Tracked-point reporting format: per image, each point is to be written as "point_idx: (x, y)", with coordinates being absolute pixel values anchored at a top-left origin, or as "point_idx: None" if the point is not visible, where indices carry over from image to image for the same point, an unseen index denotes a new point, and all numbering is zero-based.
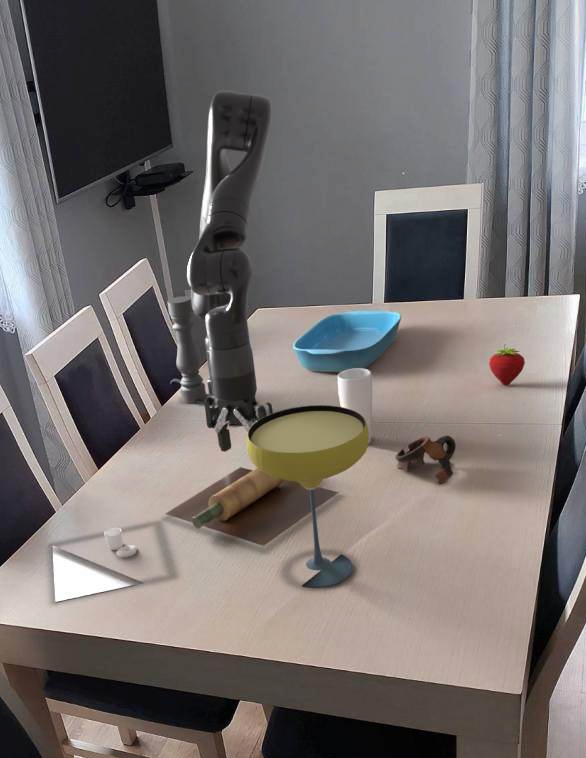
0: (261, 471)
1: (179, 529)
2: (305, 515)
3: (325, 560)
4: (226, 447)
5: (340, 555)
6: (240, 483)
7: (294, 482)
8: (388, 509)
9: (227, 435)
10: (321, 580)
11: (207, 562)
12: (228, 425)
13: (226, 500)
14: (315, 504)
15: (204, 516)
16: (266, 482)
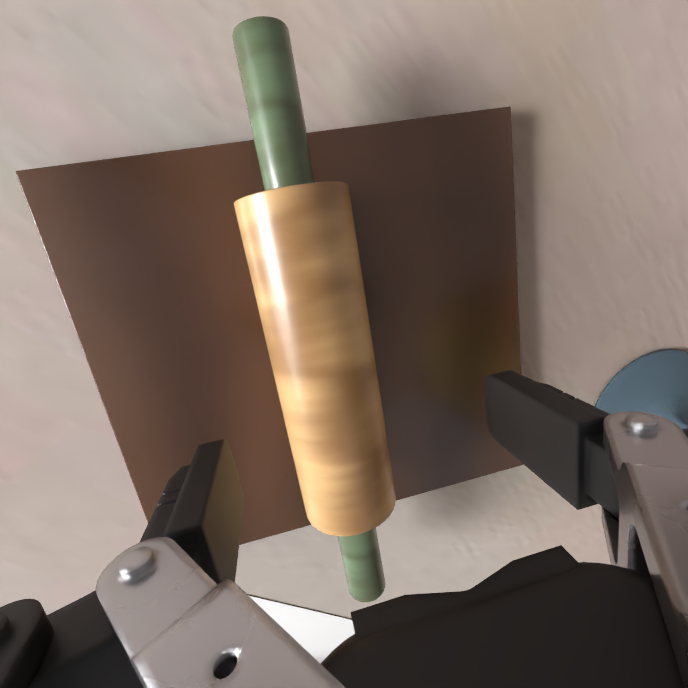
0: (335, 295)
1: (255, 547)
2: (517, 293)
3: (679, 411)
4: (234, 486)
5: (671, 358)
6: (352, 423)
7: (333, 142)
8: (654, 86)
9: (215, 518)
10: None
11: (441, 563)
12: (190, 560)
13: (389, 507)
14: (502, 225)
15: (378, 572)
16: (365, 301)
